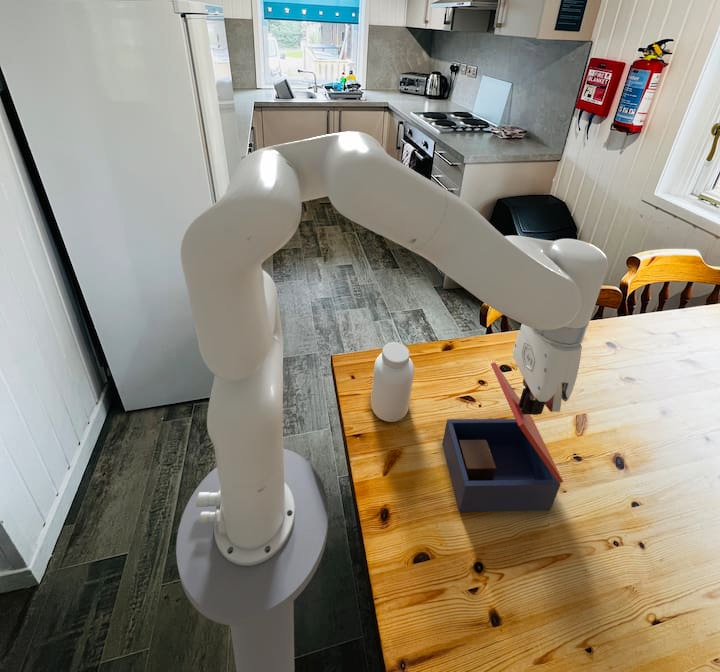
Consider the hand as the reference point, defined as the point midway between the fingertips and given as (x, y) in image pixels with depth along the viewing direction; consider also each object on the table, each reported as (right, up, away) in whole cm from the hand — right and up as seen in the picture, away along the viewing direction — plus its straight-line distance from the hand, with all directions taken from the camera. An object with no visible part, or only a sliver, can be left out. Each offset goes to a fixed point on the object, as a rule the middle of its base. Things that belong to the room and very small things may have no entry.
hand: (529, 409), depth 65 cm
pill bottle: (-22, -9, +18) cm, 30 cm away
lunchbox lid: (-1, -3, +1) cm, 3 cm away
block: (-8, -14, +5) cm, 17 cm away
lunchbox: (-4, -15, +6) cm, 17 cm away
